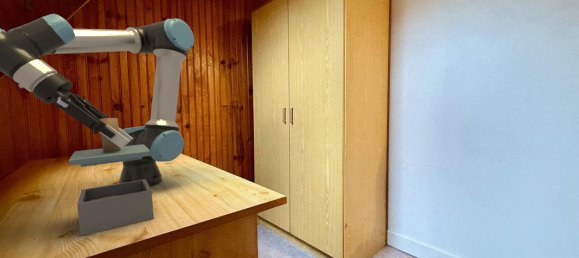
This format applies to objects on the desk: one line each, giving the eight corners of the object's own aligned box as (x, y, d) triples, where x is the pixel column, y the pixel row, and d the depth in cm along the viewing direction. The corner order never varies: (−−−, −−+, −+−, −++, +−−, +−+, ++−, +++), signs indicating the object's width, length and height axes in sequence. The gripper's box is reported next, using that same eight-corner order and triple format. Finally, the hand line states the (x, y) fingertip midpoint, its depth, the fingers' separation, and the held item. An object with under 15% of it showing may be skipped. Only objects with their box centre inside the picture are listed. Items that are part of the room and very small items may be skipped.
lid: (75, 159, 73) (71, 119, 72) (144, 151, 83) (141, 116, 82) (69, 169, 61) (64, 122, 60) (151, 159, 71) (147, 117, 70)
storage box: (84, 216, 75) (81, 189, 74) (147, 203, 84) (145, 179, 83) (80, 236, 64) (77, 204, 63) (153, 218, 73) (151, 190, 72)
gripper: (51, 94, 73) (124, 148, 80) (11, 92, 57) (107, 159, 64) (72, 75, 74) (142, 130, 82) (39, 68, 58) (130, 136, 66)
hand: (127, 142), depth 73 cm, fingers closed on lid, 4 cm apart
